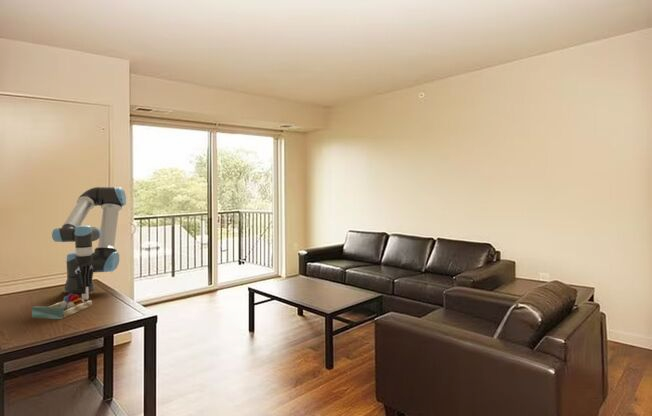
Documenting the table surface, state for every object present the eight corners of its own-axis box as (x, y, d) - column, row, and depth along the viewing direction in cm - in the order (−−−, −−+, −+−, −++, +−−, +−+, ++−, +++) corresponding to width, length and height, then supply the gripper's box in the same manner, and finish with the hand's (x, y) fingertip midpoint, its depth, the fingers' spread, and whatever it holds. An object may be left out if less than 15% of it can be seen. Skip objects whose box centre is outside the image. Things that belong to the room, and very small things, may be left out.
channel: (66, 304, 200) (66, 294, 200) (92, 305, 199) (91, 295, 198) (32, 318, 179) (31, 307, 179) (60, 319, 178) (60, 308, 177)
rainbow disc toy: (73, 311, 190) (72, 296, 189) (56, 309, 191) (56, 295, 191) (87, 305, 198) (86, 292, 197) (71, 304, 200) (70, 290, 199)
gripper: (86, 252, 209) (87, 295, 210) (68, 257, 196) (69, 302, 197) (99, 253, 208) (100, 295, 210) (81, 257, 196) (83, 302, 197)
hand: (85, 299), depth 203 cm, fingers closed
